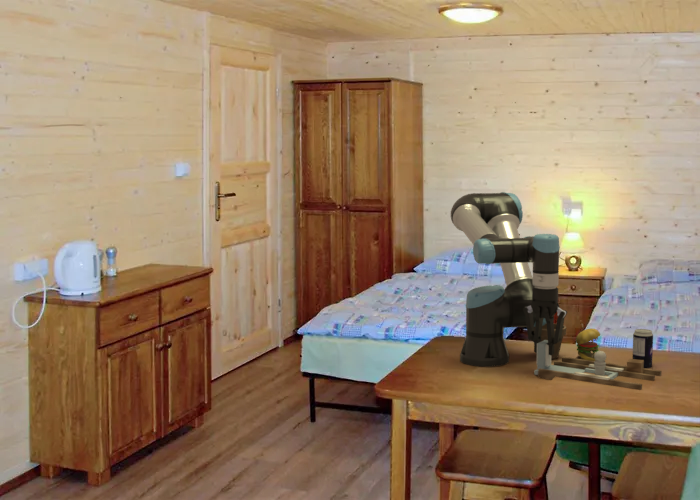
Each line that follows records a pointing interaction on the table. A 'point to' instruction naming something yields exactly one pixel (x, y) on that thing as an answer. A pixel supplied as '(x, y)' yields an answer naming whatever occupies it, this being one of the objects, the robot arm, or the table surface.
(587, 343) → the hamburger
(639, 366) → the walnut cube
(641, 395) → the table surface
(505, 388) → the table surface
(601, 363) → the chess piece
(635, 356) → the beverage can
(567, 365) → the lane rails
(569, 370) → the pale grey slab
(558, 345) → the flower pot
